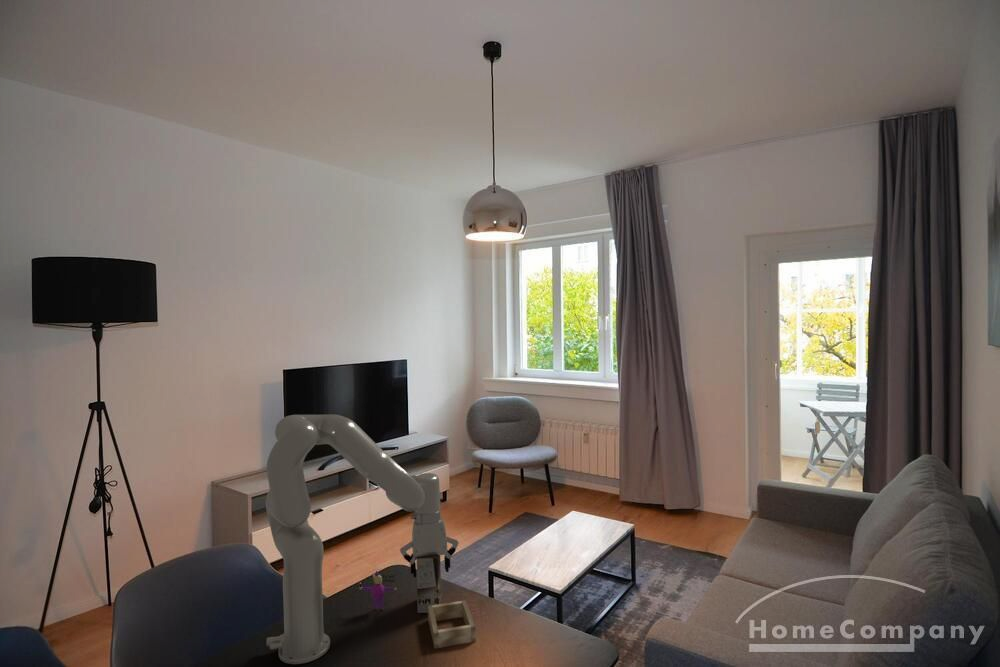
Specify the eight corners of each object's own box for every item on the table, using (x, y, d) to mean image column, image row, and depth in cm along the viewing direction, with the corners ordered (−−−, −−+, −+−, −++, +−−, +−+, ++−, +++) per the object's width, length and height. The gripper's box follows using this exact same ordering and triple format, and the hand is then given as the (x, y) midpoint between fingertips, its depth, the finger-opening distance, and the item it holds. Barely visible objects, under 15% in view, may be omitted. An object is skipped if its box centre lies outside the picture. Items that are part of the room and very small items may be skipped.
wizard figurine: (398, 608, 159) (397, 568, 158) (395, 614, 155) (394, 573, 155) (361, 607, 159) (360, 567, 159) (357, 613, 156) (356, 572, 156)
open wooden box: (434, 648, 138) (434, 633, 138) (428, 619, 152) (427, 605, 152) (475, 641, 141) (475, 626, 141) (466, 613, 155) (465, 600, 155)
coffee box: (439, 612, 156) (437, 557, 155) (417, 613, 156) (415, 558, 155) (442, 596, 165) (440, 544, 164) (421, 597, 165) (419, 545, 164)
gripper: (399, 524, 154) (402, 583, 154) (458, 516, 158) (461, 573, 159) (397, 515, 161) (400, 571, 162) (454, 508, 165) (457, 562, 166)
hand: (430, 572), depth 160 cm, fingers open, 9 cm apart
